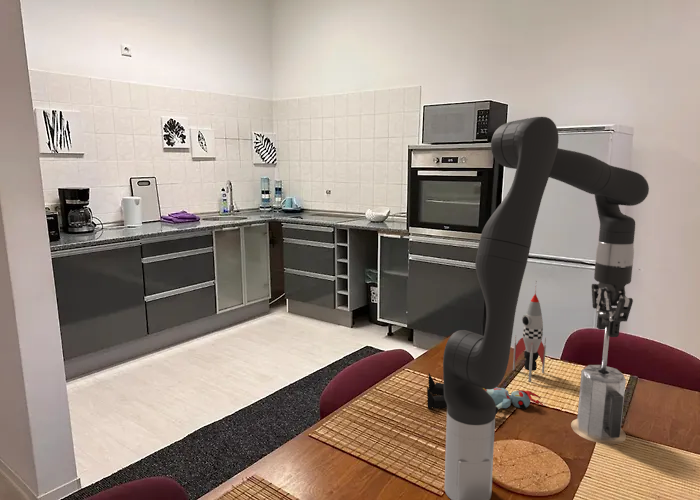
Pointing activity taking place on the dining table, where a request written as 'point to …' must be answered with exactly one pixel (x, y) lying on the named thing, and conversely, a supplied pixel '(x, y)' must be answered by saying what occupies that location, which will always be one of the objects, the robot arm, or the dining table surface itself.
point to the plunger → (605, 337)
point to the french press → (601, 403)
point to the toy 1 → (498, 394)
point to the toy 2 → (531, 338)
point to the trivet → (618, 440)
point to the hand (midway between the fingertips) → (607, 332)
